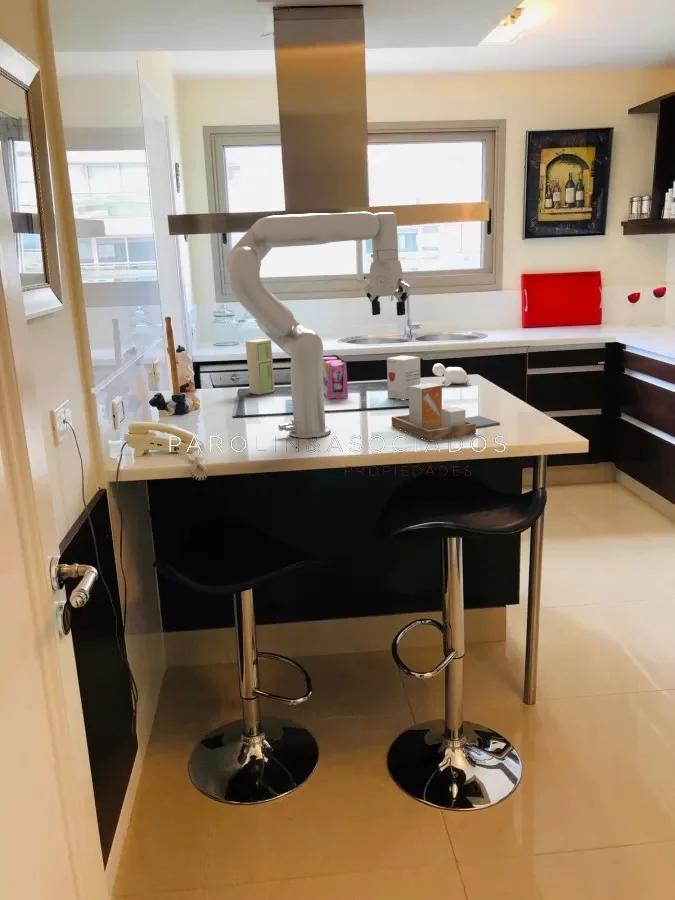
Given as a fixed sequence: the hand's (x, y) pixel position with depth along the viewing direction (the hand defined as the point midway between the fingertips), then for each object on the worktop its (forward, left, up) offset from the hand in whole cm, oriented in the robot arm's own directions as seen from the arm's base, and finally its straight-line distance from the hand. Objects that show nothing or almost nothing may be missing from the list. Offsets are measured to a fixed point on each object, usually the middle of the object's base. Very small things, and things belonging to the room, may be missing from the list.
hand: (388, 314), depth 212 cm
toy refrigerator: (-18, +77, -34) cm, 86 cm away
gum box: (+5, +58, -34) cm, 67 cm away
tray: (+6, -14, -34) cm, 37 cm away
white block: (+10, -20, -34) cm, 41 cm away
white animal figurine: (+52, +46, -34) cm, 77 cm away
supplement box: (+23, +34, -34) cm, 53 cm away
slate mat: (+21, -14, -34) cm, 42 cm away
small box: (+6, -10, -34) cm, 36 cm away
